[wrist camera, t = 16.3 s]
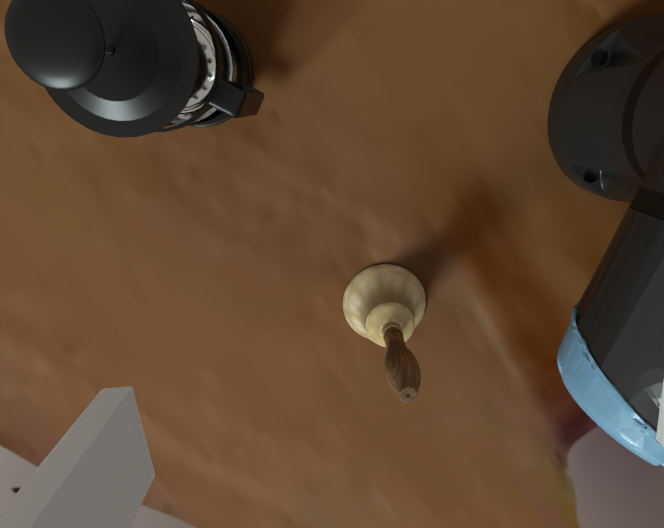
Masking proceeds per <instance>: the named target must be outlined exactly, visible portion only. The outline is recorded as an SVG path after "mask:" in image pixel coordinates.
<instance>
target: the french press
mask: <svg viewBox="0 0 664 528" xmlns="http://www.w3.org/2000/svg"><path fill="white" fill-rule="evenodd" d="M183 1H184V2H186V3H188V4H189V5H188V4H186V3H182V2H181V1H180V0H12V2H11V3H10V5H9V7H8V10H7V13H6V18H5V37H6V41H7V45H8V48H9V50H10V53H11V55H12V57H13V59H14V60H15V62H16V64H17V65H18V66H19V67H20V69H21V70H22V71H23V72H24V73H25V74H26V75H27V76H28V77H30V78H31V79H32V80H33V81H35V82H37V83H38V84H40V85H42V86H44V87H45V88H46V90H47V92H48V93H49V95H50V96H51V97H52V99H53V100H54V101H55V102H56V103H57V105H58V106H59V107H60V108H61V109H62V110H63V111H64V112H65V113H67V114H68V115H69V116H70V117H71V118H72V119H74V120H75V121H77V122H78V123H80V124H82V125H83V126H85V127H87V128H88V129H91V130H93V131H96V132H99V133H101V134H104V135H109V136H115V137H138V136H142V135H146V134H150V133H153V132H165V131H171V130H175V129H179V128H183V127H185V126H187V125H188V126H197V127H206V126H213V125H217V124H220V123H222V122H224V121H226V120H229V119H230V118H231V117H233V118H240V117H246V116H251V115H256V114H257V113H258V110H259V108H260V106H261V103H262V101H263V99H264V93H262V92H260V91H258V90H256V89H254V88H252V87H251V86H252V79H253V67H252V60H251V56H250V52H249V49H248V47H247V45H246V43H245V41H244V39H243V38H242V36H241V35H240V34H239V32H238V31H237V30H236V29H235V28H234V27H233V26H232V25H231V24H230V23H229V22H228V21H227V20H225V19H224V18H222V17H221V16H219V15H217V14H215V13H212V12H210V11H207V10H206V9H204V8H203V7H202V6H200V5H199V4H197V3H196V2H194V1H193V0H183ZM190 5H191V6H190ZM228 45H229V46H230V48H231V50H232V52H233V54H234V57H235V61H236V65H237V79H236V82H234V81H231V80H232V70H233V68H232V57H231V53H230V50H229V46H228ZM174 124H179V125H177V126H173V127H169V128H163V127H165V126H167V125H174Z"/></svg>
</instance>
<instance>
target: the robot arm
mask: <svg viewBox="0 0 664 528" xmlns="http://www.w3.org/2000/svg"><path fill="white" fill-rule="evenodd" d="M548 135H549V141H550V146H551V149H552V152H553V155H554V157H555V159H556V161H557V163H558V165H559V166H560V168H561V169H562V171H563V172H564V173H565V174H566V176H567V177H568V178H569V179H570V180H572V181H573V182H574V183H575V184H576V185H578V186H579V187H581V188H583V189H585V190H586V191H589V192H591V193H594V194H596V195H599V196H602V197H605V198H608V199H612V200H617V201H625V202H631V204H630V206H629V207H628V209H627V211H626V213H625V215H624V217H623V219H622V221H621V223H620V225H619V227H618V229H617V231H616V233H615V235H614V237H613V239H612V241H611V243H610V245H609V247H608V249H607V251H606V252H605V254H604V256H603V258H602V260H601V262H600V264H599V266H598V268H597V270H596V271H595V273H594V275H593V277H592V279H591V281H590V283H589V285H588V287H587V288H586V290H585V292H584V294H583V296H582V298H581V300H580V301H579V302H578V303H577V304H576V305H575V306H574V308H573V310H572V313H571V322H570V324H569V327H568V329H567V331H566V333H565V335H564V338H563V340H562V342H561V344H560V347H559V350H558V355H557V363H558V368H559V371H560V374H561V375H562V379H563V382H564V384H565V386H566V388H567V389H568V391H569V393H570V394H571V395H572V397H573V398H574V399H575V401H576V402H577V403H578V405H579V406H580V407H581V408H582V409H583V410H584V411H585V412H586V414H587V415H588V416H589V417H590V418H591V419H592V420H594V421H595V422H596V423H597V424H598V425H599V426H600V427H601V428H602V429H603V430H605V431H606V432H607V433H608V434H609V435H610V436H612V437H613V438H614V439H615V440H617V441H618V442H619V443H621V444H622V445H623V446H624V447H626V448H627V449H629V450H630V451H632V452H633V453H634V454H636V455H638V456H639V457H641V458H642V459H644V460H646V461H647V462H649V463H651V464H653V465H660V464H661V465H662V466H664V13H655V14H649V15H645V16H641V17H637V18H633V19H630V20H627V21H623V22H621V23H618V24H616V25H614V26H612V27H610V28H608V29H606V30H604V31H602V32H601V33H599V34H598V35H596V36H595V37H594V38H592V39H591V40H590V41H589V42H588V43H586V44H585V45H584V46H583V47H582V48H581V49H580V50H579V51H578V52H577V53H576V54H575V56H574V57H573V58H572V59H571V61H570V62H569V63H568V65H567V66H566V68H565V69H564V71H563V73H562V74H561V76H560V78H559V80H558V82H557V85H556V87H555V89H554V92H553V95H552V99H551V102H550V107H549V113H548ZM154 477H155V472H154V468H153V465H152V461H151V457H150V453H149V449H148V446H147V442H146V438H145V434H144V430H143V426H142V423H141V419H140V415H139V411H138V407H137V403H136V400H135V396H134V392H133V388H132V386H130V387H117V388H105V389H102V390H101V391H100V392H99V393H98V394H97V396H96V397H95V398H94V399H93V401H92V402H91V403H90V404H89V405H88V407H87V408H86V409H85V410H84V412H83V413H82V414H81V415H80V416H79V418H78V419H77V420H76V421H75V423H74V424H73V425H72V426H71V427H70V429H69V430H68V431H67V432H66V434H65V435H64V436H63V437H62V438H61V440H60V441H59V442H58V443H57V445H56V446H55V447H54V448H53V449H52V451H51V452H50V453H49V454H48V456H47V457H46V458H45V459H44V460H43V462H42V463H41V464H40V465H39V467H38V468H37V469H36V470H35V471H34V473H33V474H32V475H31V476H30V478H29V479H28V480H27V481H26V482H25V484H24V485H23V486H22V487H21V489H20V490H19V491H18V492H17V493H16V495H15V496H14V497H13V499H12V500H11V501H10V502H9V503H8V505H7V506H6V507H5V508H4V509H3V510H2V512H1V513H0V528H130V526H131V524H132V522H133V520H134V518H135V516H136V514H137V512H138V510H139V508H140V506H141V504H142V501H143V499H144V497H145V495H146V493H147V491H148V489H149V487H150V485H151V483H152V481H153V479H154Z"/></svg>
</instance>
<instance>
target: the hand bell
mask: <svg viewBox="0 0 664 528" xmlns="http://www.w3.org/2000/svg"><path fill="white" fill-rule="evenodd" d="M425 307H426V296H425V291H424V288H423V286H422V284H421V282H420V281H419V280H418V278H417V277H416V276H415V275H414V274H413V273H411V272H410V271H408V270H407V269H405V268H403V267H400V266H397V265H391V264H380V265H375V266H371V267H369V268H366V269H364V270H363V271H361V272H360V273H358V274H357V275H356V276H355V277H354V278H353V279H352V280H351V282H350V283H349V285H348V286H347V288H346V290H345V293H344V297H343V311H344V315H345V318H346V320H347V322H348V323H349V325H350V326H351V327H352V328H353V329H354V330H355V331H356V332H357V333H358V334H360V335H361V336H363V337H365V338H368V339H371V340H372V341H373V342H375V343H376V344H378V345H380V346H383V347H386V348H387V354H386V357H385V374H386V378H387V381H388V383H389V385H390V387H391V388H392V389H393V390H394V391H395V393H397V395H398V396H399V397H400V399H401V400H402V401H403V402H405V403H411V402H414V401H415V400H416V399H417V396H418V388H419V386H420V379H421V374H420V369H419V365H418V363H417V361H416V358H415V357H414V355H413V354H412V352H411V351H410V350H409V349H407V348H406V346H405V342H406V341H407V340H408V339H409V338H410V336H411V335H412V333H413V330H414V328H415V327H416V326H417V325H418V324H419V322H420V321H421V319H422V317H423V315H424V312H425Z"/></svg>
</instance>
